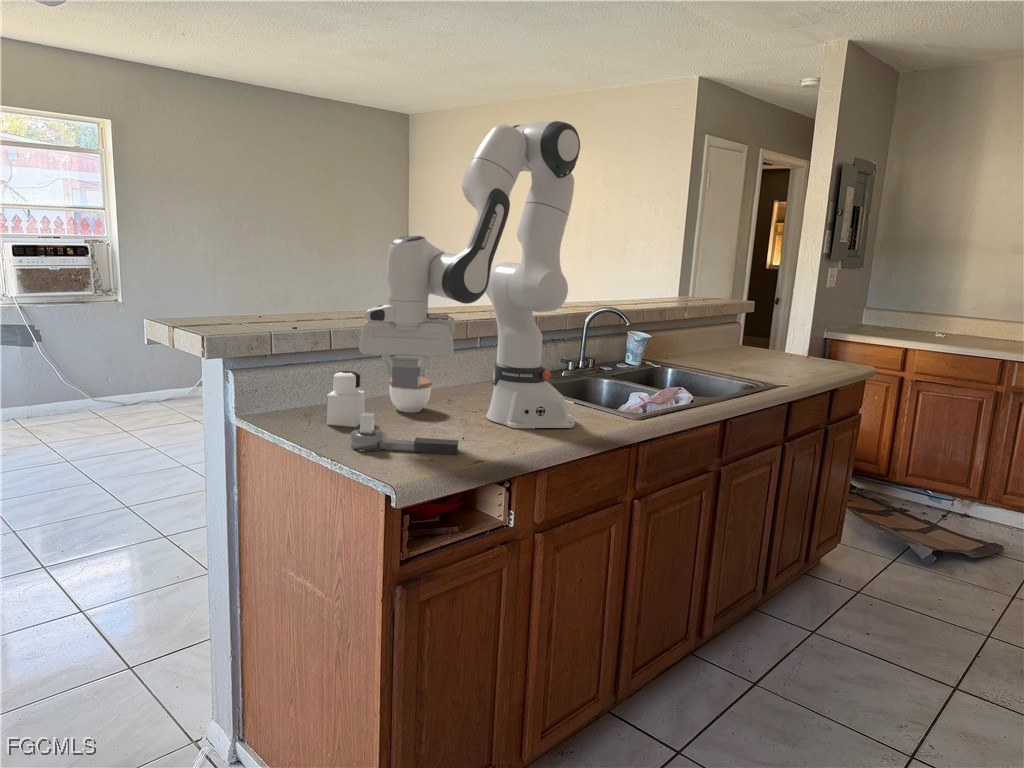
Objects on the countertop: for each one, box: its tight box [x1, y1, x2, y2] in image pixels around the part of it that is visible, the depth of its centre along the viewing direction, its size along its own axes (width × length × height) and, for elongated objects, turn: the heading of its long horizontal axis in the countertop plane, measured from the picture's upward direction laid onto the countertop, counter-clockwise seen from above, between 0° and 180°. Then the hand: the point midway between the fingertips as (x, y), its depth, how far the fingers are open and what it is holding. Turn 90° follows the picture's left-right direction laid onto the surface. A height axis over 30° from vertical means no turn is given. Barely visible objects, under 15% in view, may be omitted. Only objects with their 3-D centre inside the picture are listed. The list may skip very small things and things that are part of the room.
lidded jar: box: [388, 376, 433, 413], centre depth 176 cm, size 11×11×9 cm
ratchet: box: [350, 412, 459, 456], centre depth 143 cm, size 22×6×7 cm, turn 92°
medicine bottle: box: [325, 370, 366, 428], centre depth 159 cm, size 7×7×12 cm
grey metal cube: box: [391, 355, 422, 388], centre depth 151 cm, size 6×6×6 cm
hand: (406, 375), depth 151 cm, fingers closed on grey metal cube, 5 cm apart
